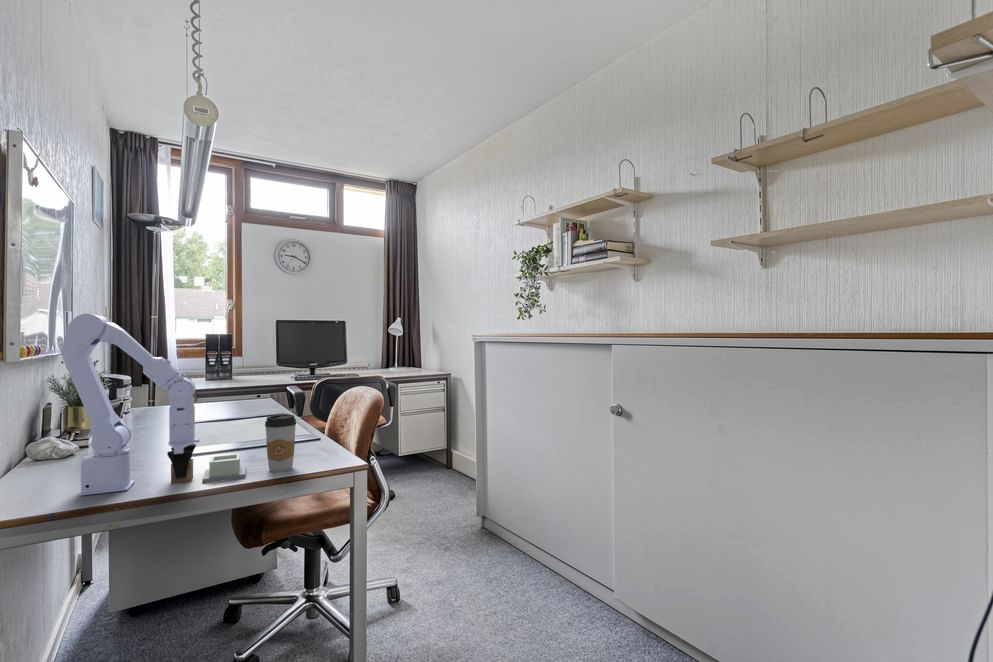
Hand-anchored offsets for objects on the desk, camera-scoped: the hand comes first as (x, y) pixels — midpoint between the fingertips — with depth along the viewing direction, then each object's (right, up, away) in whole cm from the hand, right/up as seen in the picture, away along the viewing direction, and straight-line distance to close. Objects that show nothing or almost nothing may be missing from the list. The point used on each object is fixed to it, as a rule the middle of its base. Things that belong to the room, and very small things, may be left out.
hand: (182, 475), depth 131 cm
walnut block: (0, -1, 0) cm, 1 cm away
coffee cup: (+22, -2, +11) cm, 24 cm away
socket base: (+9, -1, +4) cm, 10 cm away
